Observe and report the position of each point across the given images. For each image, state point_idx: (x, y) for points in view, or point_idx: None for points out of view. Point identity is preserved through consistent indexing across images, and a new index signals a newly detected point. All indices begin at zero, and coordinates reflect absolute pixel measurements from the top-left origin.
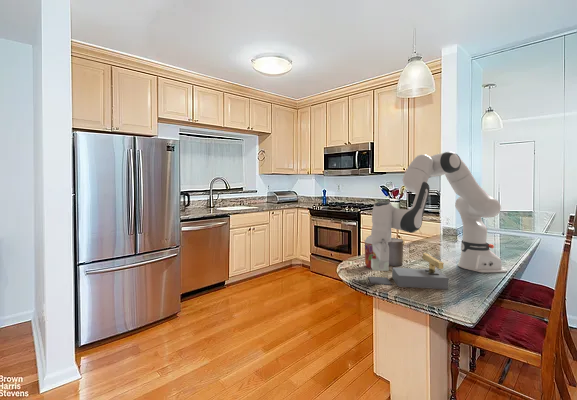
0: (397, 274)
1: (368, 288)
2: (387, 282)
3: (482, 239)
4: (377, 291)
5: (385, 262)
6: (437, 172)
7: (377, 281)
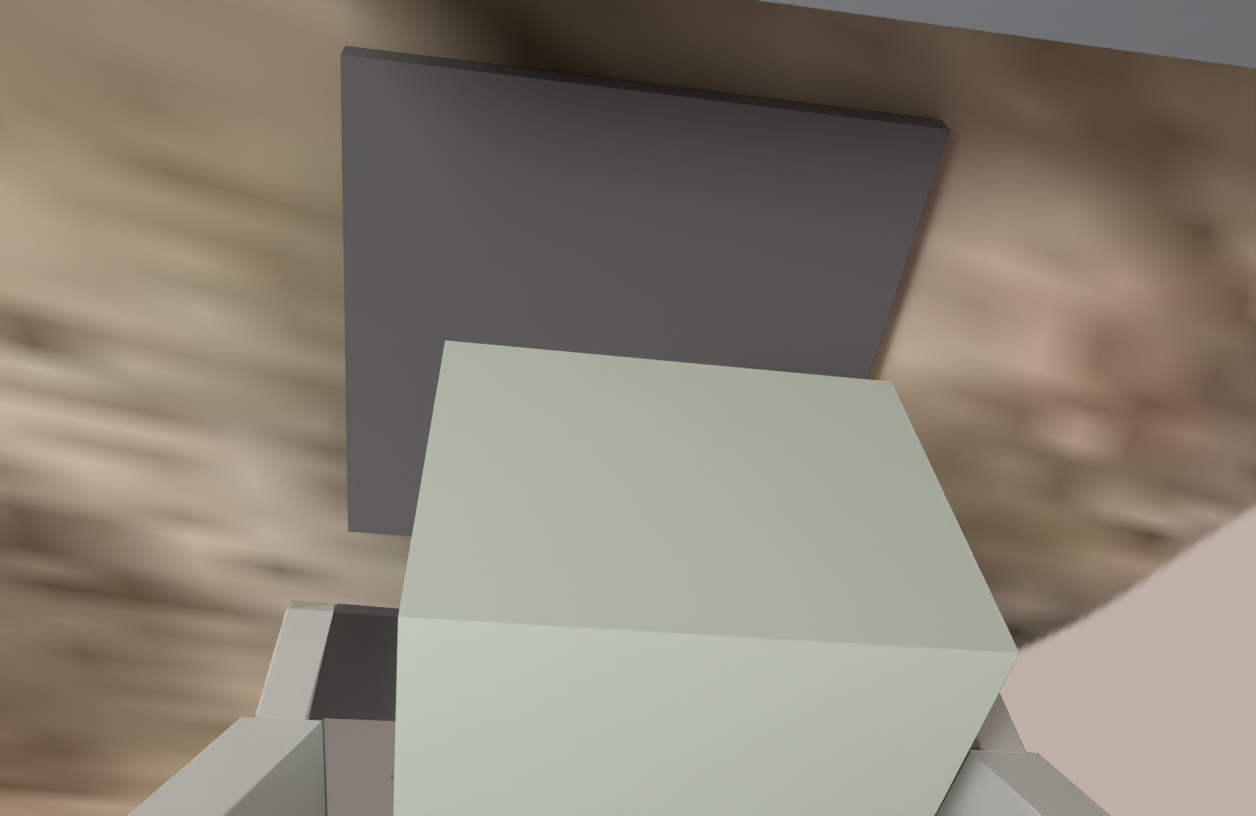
0: (1074, 35)
1: (1026, 631)
2: (803, 205)
3: None
4: (1216, 531)
5: (952, 752)
6: None
7: None
